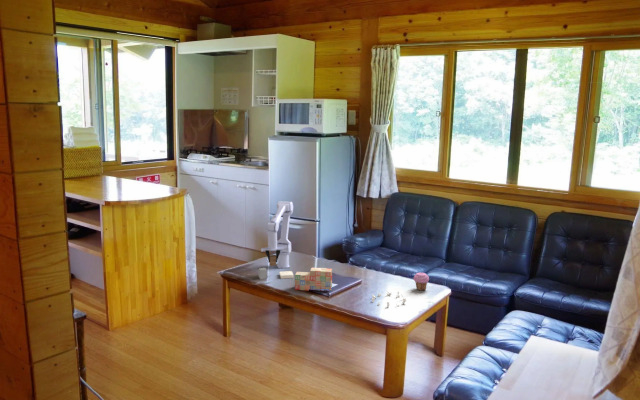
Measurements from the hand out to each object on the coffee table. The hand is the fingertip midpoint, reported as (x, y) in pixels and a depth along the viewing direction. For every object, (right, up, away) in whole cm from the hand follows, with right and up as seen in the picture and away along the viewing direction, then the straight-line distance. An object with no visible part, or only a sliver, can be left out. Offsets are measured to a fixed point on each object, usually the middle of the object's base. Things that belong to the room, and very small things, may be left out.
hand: (272, 262), depth 336 cm
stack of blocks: (+26, -13, -25) cm, 39 cm away
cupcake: (+90, -13, -25) cm, 94 cm away
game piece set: (+68, -17, -45) cm, 83 cm away
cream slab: (+9, -9, -2) cm, 13 cm away
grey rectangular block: (-6, -9, -5) cm, 12 cm away
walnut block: (0, -2, 0) cm, 2 cm away
